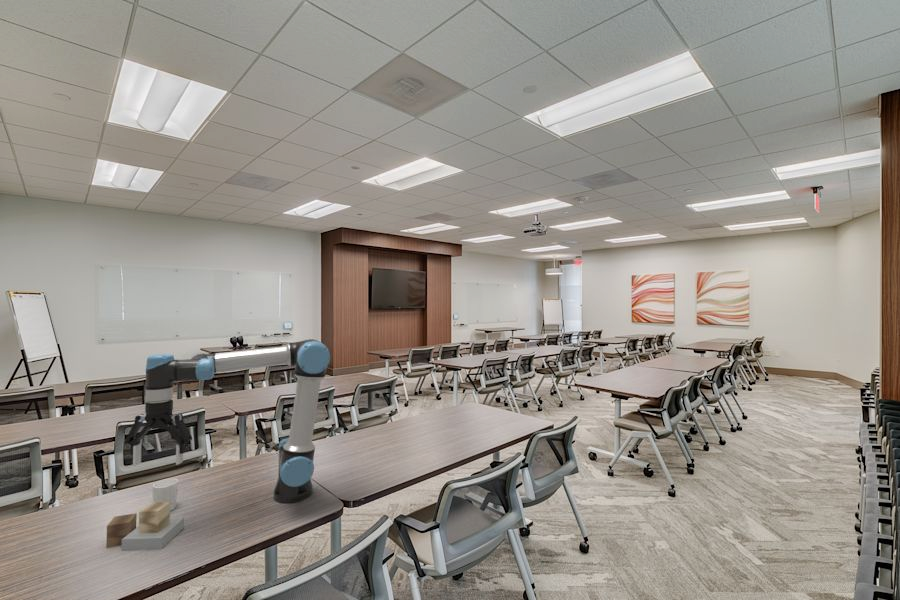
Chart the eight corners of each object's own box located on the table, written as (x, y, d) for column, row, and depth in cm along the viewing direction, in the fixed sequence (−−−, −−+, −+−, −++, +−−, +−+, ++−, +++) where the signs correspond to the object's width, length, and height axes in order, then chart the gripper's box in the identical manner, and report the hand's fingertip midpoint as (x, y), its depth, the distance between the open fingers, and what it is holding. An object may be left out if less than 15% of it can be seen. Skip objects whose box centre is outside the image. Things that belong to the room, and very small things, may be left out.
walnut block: (136, 533, 134) (136, 513, 134) (129, 543, 128) (129, 522, 128) (114, 537, 131) (114, 516, 131) (106, 547, 126) (106, 525, 126)
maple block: (169, 522, 134) (170, 502, 134) (157, 532, 128) (157, 511, 128) (151, 522, 134) (152, 502, 134) (138, 533, 128) (139, 511, 128)
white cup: (164, 515, 145) (164, 488, 145) (146, 513, 147) (147, 486, 147) (182, 505, 153) (183, 479, 153) (165, 503, 154) (166, 477, 154)
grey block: (183, 529, 137) (184, 517, 137) (161, 550, 125) (161, 538, 125) (147, 530, 136) (148, 519, 136) (121, 552, 124) (121, 539, 124)
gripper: (204, 397, 137) (203, 458, 137) (128, 398, 135) (127, 460, 135) (191, 402, 130) (190, 467, 129) (111, 403, 128) (110, 469, 127)
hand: (158, 463), depth 132 cm, fingers open, 13 cm apart
